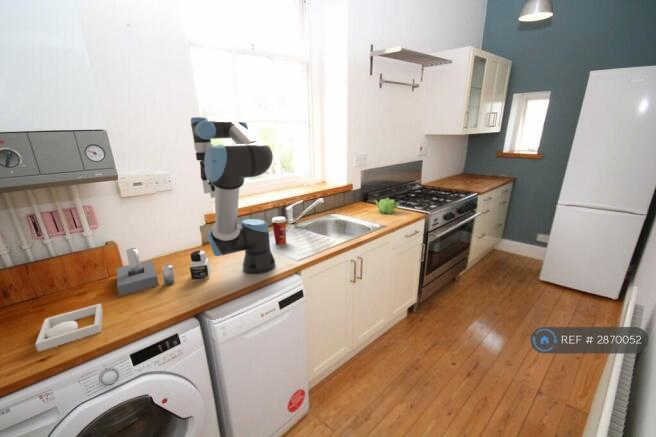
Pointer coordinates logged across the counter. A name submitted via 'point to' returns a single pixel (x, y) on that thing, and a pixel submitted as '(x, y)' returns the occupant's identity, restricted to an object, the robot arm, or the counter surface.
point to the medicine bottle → (199, 266)
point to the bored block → (136, 278)
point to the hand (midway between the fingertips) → (210, 195)
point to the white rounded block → (62, 328)
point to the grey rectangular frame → (73, 335)
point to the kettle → (386, 206)
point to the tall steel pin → (134, 261)
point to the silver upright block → (168, 274)
